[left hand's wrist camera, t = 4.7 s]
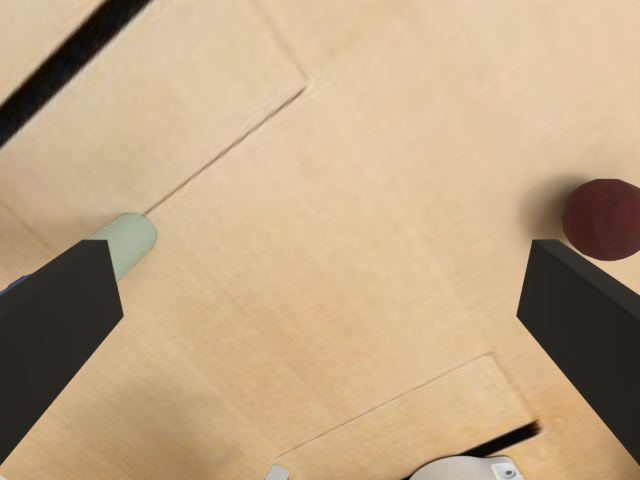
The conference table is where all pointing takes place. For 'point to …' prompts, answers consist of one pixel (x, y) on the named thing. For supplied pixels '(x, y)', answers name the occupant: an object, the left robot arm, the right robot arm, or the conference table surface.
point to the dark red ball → (604, 219)
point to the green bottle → (127, 241)
